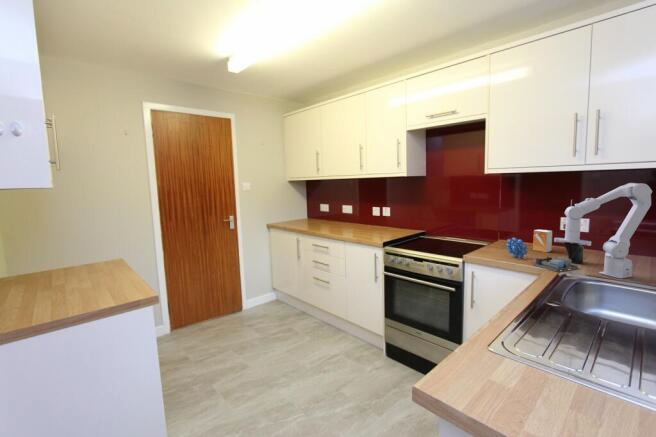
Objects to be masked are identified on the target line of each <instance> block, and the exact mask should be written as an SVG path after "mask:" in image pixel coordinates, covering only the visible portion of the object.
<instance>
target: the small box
mask: <svg viewBox="0 0 656 437" xmlns="http://www.w3.org/2000/svg"><path fill="white" fill-rule="evenodd" d="M552 242H553V230H548V229H534V230H533V240H532V251H537V252H541V253H549V252H552V246H553V245H552V244H553V243H552Z"/></svg>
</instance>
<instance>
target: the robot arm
mask: <svg viewBox="0 0 656 437" xmlns="http://www.w3.org/2000/svg"><path fill="white" fill-rule="evenodd" d="M652 193H653V190H652V189H651V187H650V186H649V185H648V184H646V183H640V182H639V183H635V182H628V183H626V184H624V185H620V186H618V187H616V188H615V189H613V190H611V191H608V192H607V193H605V194H602V195H600V196H598V197H597V198H594V197H590V198H589V197H587V198H585V200H583V201H581V202H579V203H575V204H574V206H573V205H572V206H568V207H567V208H566V209H565V211H564V215H565V216H566V219H565V230H564V232H565V233H564V237H554V238H553V243H562V244H563V245H564V246H563V247H565V249H566V252H567V257H568V256H569V258H573V256H574V253H575V251H576V249H577V248H578V246H579V245H581V246H582V245H583V246H589V247H590V246H592V241H591V240H585V239H580V237H581V218H583V217H584V215H586V214H589V213H591V212H594V211H595V210H598V209H599V208H600V207H601V205H603V204H605V203H607V202H610V201H612V200H616V199H618V198H620V197H621V198H622V197H627V198H628V199H629V200H630V201H631V203H632V207H631V208H630V210H629V211H628V214H627V215H626V217H625V218H624V219H623V222H622V223H621V224H620V226H619V228H618V230H617V231H616V233H615V235H613V236H611V237H610V238H609V239H608V241H605V242H604V243H603V246H602V250H603V251H604V252H605V253H604V261H603V262H604V263H603V264H604V265H603V271H599V272H598V274H602V275H606V276H609V277H613V278H618V279H625V278H632V277H633V275H632V274H633V261H632V260H631V259H628V258H627V255H628V254H629V248H630V246H631V242H630V239H631V238H632V236H633V235H634V234H635V231H636V230H637V228H638V227H639V225H640V224H641V223H642V221H643V219H644V217H645V216H646V214H647V212H648V211H649V210H650V207H651V206H652ZM573 242H574V243H573Z"/></svg>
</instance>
